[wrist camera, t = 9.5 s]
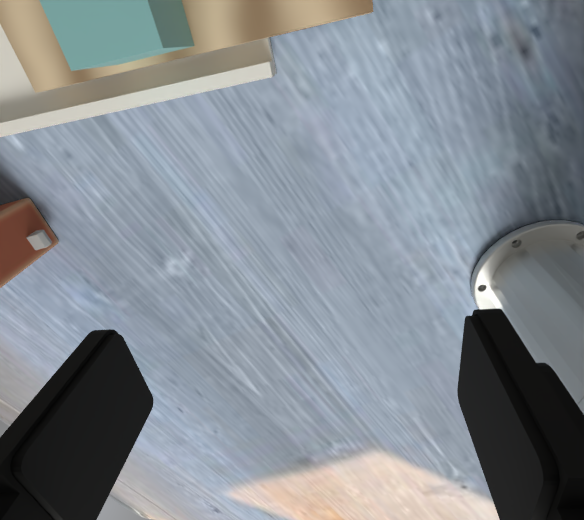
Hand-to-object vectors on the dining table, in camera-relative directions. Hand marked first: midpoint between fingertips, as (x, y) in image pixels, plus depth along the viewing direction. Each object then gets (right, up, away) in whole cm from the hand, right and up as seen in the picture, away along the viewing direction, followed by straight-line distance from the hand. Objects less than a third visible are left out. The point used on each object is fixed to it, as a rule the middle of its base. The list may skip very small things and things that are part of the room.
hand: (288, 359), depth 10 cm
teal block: (-10, +20, +15) cm, 27 cm away
